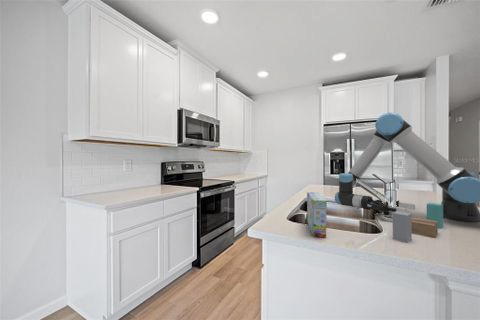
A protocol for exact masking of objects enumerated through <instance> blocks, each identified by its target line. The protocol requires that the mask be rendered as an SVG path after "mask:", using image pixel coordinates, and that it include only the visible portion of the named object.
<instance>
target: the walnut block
mask: <svg viewBox="0 0 480 320" xmlns="http://www.w3.org/2000/svg"><path fill="white" fill-rule="evenodd" d="M411 222H412V235H418V236H424V237H429V238H431V239H432V238H433V239H436V238H437V235H438V233H439V232H438V231H439V230H438V229H439V228H438V221H433V220H427V218H426V219H425V218H418V217H412V216H411Z"/></svg>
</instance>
